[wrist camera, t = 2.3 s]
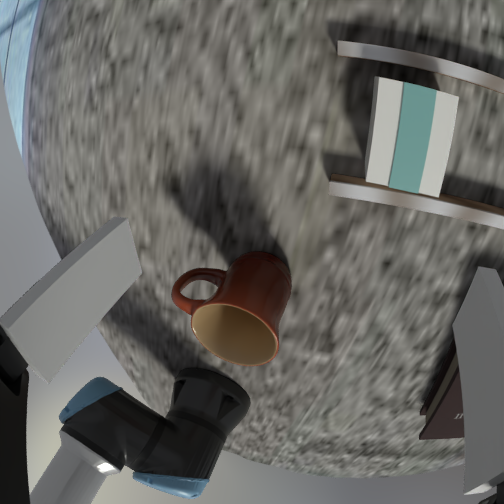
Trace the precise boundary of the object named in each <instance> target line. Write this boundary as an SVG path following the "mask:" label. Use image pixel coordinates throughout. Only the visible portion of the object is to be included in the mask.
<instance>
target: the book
mask: <svg viewBox="0 0 504 504" xmlns="http://www.w3.org/2000/svg"><path fill="white" fill-rule="evenodd" d="M420 415H426V425H425V426H424V428H423V430H422V431H421V433H420V434H419V440H425V439H448V438H462V437H465V434H464V413H463V399H462V388H461V379H460V371H459V363H458V356H457V349H456V343H455V337H454V338H453V341H452V343H451V346H450V348H449V351H448V353H447V356H446V358H445V361H444V363H443V365H442V367H441V370H440V372H439V374H438V376H437V379H436V381H435V383H434V385H433V387H432V389H431V391H430V393H429V395H428V397H427V399H426V401H425V403H424V405H423V407H422V409H421V411H420Z"/></svg>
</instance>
